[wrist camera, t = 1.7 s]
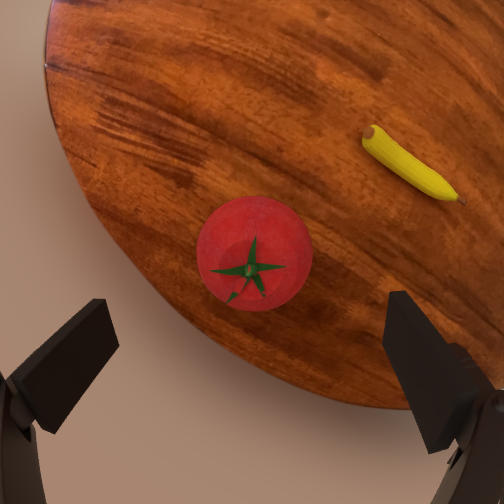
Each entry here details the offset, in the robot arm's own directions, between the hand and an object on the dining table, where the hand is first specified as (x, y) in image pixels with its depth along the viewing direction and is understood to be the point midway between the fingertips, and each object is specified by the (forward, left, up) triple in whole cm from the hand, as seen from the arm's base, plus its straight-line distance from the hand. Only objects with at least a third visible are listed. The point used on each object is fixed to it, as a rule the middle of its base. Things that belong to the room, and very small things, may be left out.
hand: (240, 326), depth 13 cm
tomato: (0, 0, -14) cm, 14 cm away
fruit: (+8, +12, -14) cm, 20 cm away
